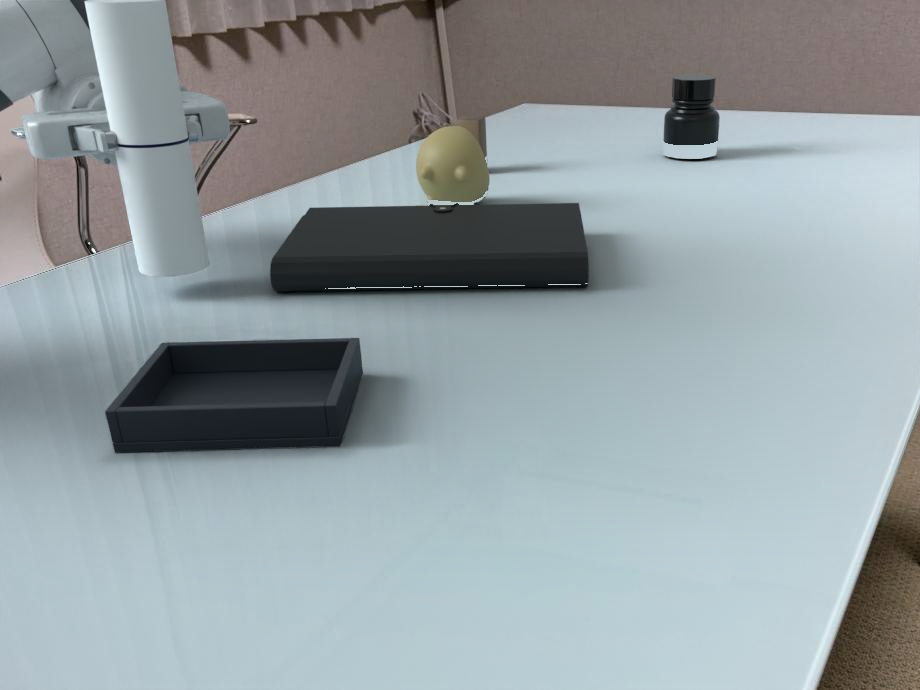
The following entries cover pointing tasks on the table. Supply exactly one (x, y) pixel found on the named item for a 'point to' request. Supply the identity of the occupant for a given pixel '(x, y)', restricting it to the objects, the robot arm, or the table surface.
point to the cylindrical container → (149, 134)
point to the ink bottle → (692, 112)
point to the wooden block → (475, 129)
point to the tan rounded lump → (452, 166)
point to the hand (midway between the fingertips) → (153, 137)
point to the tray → (239, 396)
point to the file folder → (433, 247)
